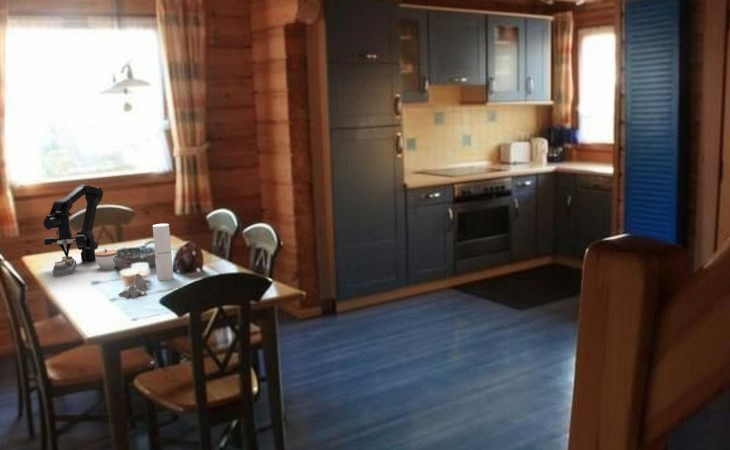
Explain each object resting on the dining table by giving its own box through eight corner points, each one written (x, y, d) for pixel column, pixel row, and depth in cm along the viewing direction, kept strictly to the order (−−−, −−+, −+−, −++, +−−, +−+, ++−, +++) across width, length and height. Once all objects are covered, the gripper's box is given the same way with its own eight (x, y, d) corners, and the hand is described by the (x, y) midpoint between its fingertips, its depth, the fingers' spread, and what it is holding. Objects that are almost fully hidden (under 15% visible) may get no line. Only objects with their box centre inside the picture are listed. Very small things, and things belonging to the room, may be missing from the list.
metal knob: (73, 264, 350) (72, 256, 349) (72, 265, 347) (71, 257, 346) (66, 264, 349) (65, 257, 348) (66, 266, 346) (65, 258, 345)
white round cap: (73, 266, 356) (72, 255, 355) (72, 268, 352) (71, 256, 351) (63, 267, 355) (62, 255, 354) (62, 269, 351) (61, 257, 350)
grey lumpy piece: (148, 294, 293) (129, 280, 291) (132, 312, 293) (114, 298, 292) (156, 283, 313) (139, 270, 311) (142, 300, 313) (125, 287, 311)
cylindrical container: (169, 280, 321) (164, 226, 316) (154, 280, 322) (149, 226, 318) (176, 276, 328) (171, 223, 323) (162, 276, 329) (157, 223, 325)
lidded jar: (122, 264, 356) (120, 246, 354) (113, 270, 346) (111, 251, 344) (102, 265, 357) (100, 247, 355) (92, 270, 347) (90, 251, 345)
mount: (76, 265, 359) (75, 257, 358) (72, 274, 339) (71, 266, 339) (57, 266, 357) (57, 259, 356) (52, 276, 337) (51, 268, 336)
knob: (67, 271, 345) (65, 260, 344) (66, 273, 340) (64, 262, 339) (56, 272, 343) (55, 261, 342) (55, 274, 339) (54, 263, 338)
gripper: (85, 221, 360) (88, 251, 363) (45, 224, 355) (49, 255, 357) (83, 225, 349) (86, 255, 352) (42, 228, 344) (46, 259, 347)
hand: (67, 256), depth 353 cm, fingers closed, pressing on white round cap
